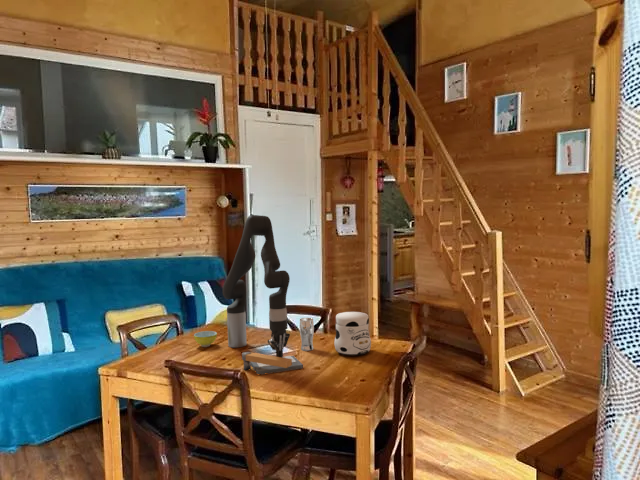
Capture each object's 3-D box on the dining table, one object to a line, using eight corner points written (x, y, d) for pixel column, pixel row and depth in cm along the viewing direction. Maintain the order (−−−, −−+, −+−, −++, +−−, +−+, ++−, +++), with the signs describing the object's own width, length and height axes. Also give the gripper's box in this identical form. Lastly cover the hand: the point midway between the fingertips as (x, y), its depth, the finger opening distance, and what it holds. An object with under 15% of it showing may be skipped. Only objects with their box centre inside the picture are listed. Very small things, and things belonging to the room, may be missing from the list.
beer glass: (298, 348, 237) (297, 318, 236) (311, 346, 240) (310, 316, 239) (302, 352, 231) (301, 321, 230) (316, 350, 233) (315, 319, 232)
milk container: (366, 359, 218) (365, 320, 216) (329, 356, 223) (329, 318, 222) (374, 348, 234) (374, 312, 233) (340, 346, 240) (339, 310, 238)
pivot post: (243, 368, 210) (242, 359, 210) (249, 367, 211) (249, 358, 211) (244, 370, 207) (244, 361, 207) (251, 369, 208) (251, 360, 208)
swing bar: (240, 359, 208) (240, 353, 208) (246, 357, 211) (246, 351, 211) (286, 367, 196) (286, 361, 196) (291, 365, 199) (291, 359, 199)
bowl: (214, 348, 240) (213, 336, 240) (191, 349, 240) (191, 337, 240) (219, 342, 251) (219, 330, 251) (197, 342, 252) (197, 331, 251)
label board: (250, 364, 214) (250, 360, 214) (293, 358, 221) (293, 354, 221) (257, 374, 201) (257, 370, 201) (303, 368, 208) (303, 363, 208)
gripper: (280, 313, 210) (281, 352, 212) (261, 320, 199) (262, 361, 200) (294, 315, 206) (295, 355, 208) (275, 322, 195) (277, 364, 196)
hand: (279, 358), depth 204 cm, fingers closed
